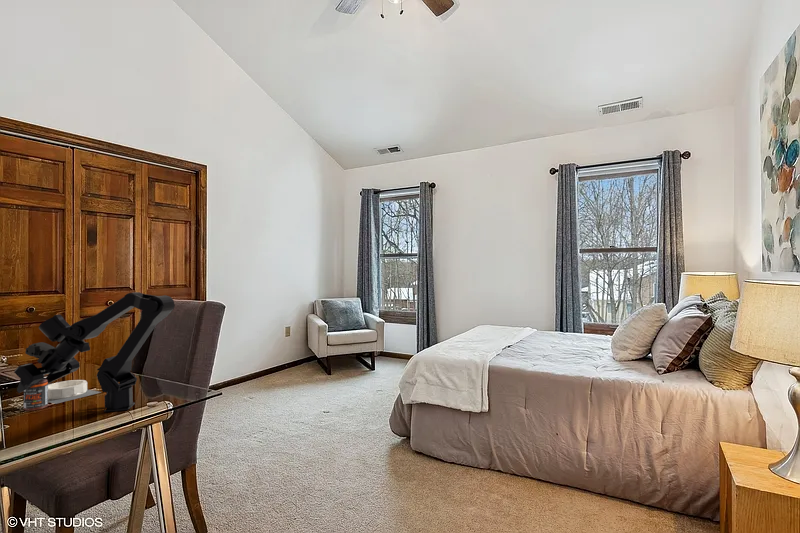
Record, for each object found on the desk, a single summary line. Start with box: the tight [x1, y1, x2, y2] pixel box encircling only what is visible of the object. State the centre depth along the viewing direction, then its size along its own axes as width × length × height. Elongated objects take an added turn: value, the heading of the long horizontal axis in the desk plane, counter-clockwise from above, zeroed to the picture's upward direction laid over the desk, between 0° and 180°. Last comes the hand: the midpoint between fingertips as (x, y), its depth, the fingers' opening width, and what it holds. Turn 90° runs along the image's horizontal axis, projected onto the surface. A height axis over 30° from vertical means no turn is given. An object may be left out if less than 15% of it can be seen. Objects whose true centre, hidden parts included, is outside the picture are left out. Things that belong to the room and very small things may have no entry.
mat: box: [48, 388, 102, 405], centre depth 151 cm, size 18×14×1 cm
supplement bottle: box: [23, 375, 49, 412], centre depth 137 cm, size 6×6×11 cm
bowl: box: [48, 379, 88, 400], centre depth 151 cm, size 12×12×4 cm
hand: (31, 387), depth 137 cm, fingers open, 9 cm apart
